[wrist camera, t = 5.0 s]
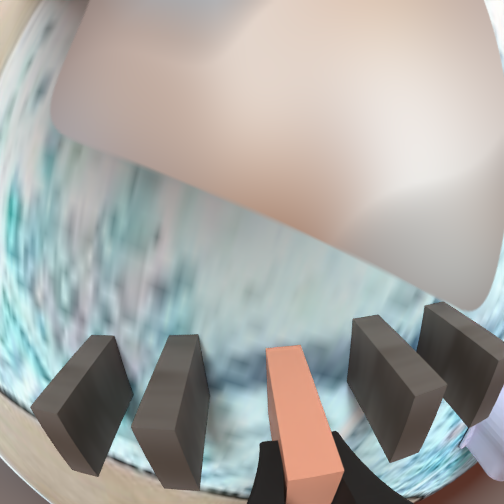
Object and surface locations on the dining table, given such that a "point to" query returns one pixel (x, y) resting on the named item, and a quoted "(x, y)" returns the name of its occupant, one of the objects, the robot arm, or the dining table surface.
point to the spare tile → (301, 429)
